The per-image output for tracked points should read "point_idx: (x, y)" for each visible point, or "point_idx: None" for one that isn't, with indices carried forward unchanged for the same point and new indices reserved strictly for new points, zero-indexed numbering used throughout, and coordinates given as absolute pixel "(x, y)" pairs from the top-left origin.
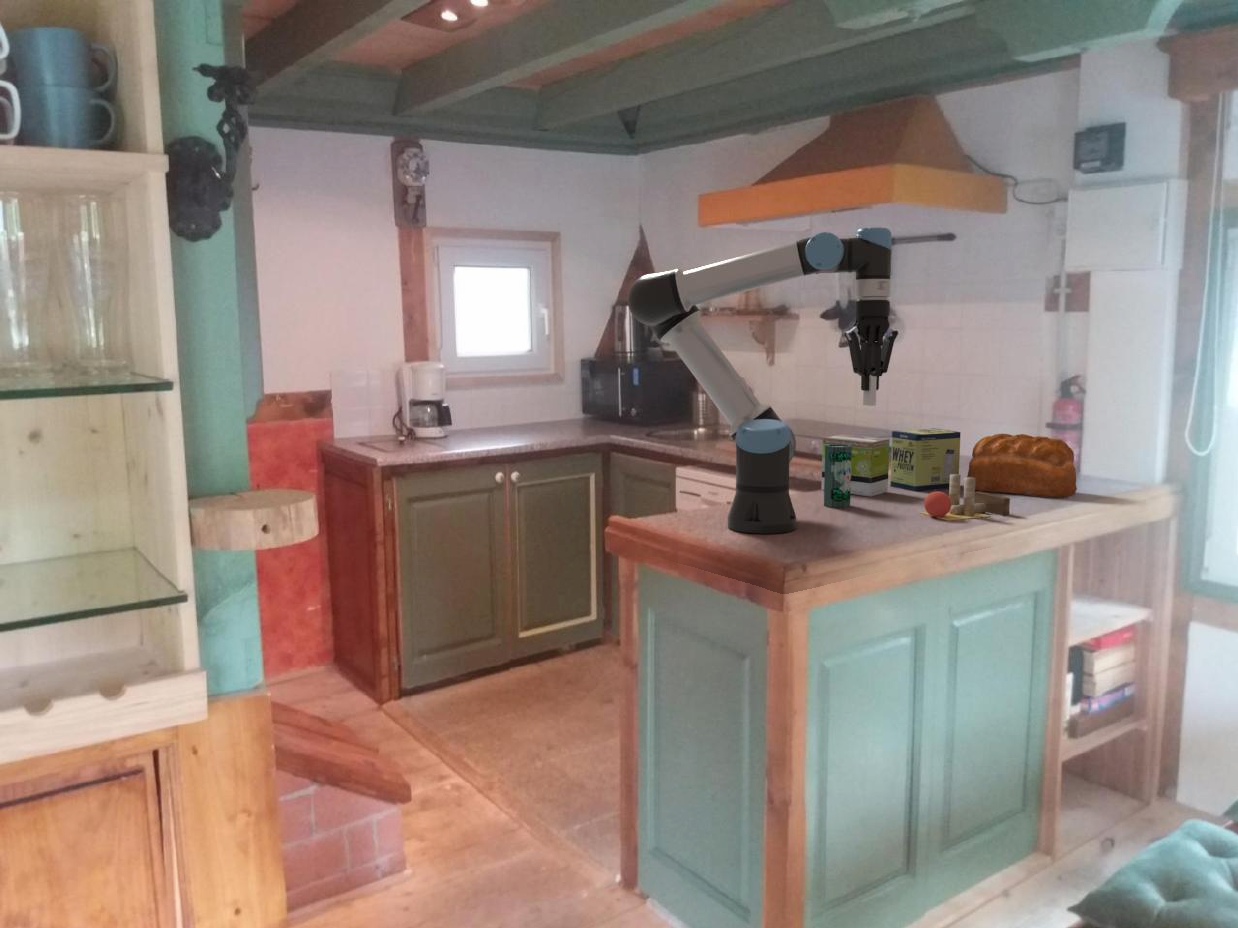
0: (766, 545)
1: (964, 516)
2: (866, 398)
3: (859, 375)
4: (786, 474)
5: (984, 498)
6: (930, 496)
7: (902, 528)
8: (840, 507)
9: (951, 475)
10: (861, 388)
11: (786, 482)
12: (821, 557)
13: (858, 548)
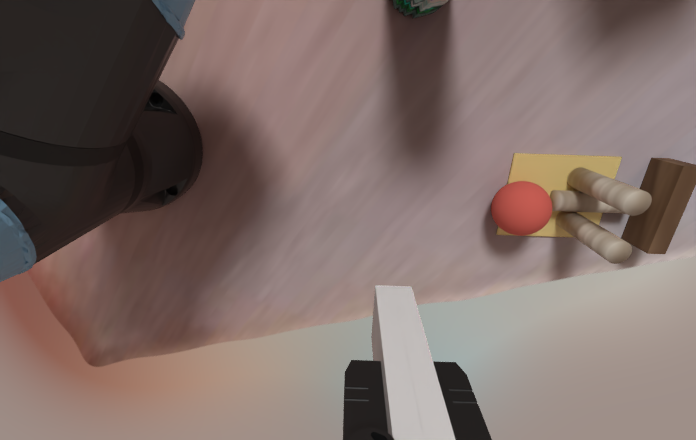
0: (100, 264)
1: (550, 223)
2: (376, 334)
3: (357, 434)
4: (98, 225)
5: (661, 199)
6: (508, 215)
7: (376, 251)
8: (405, 15)
9: (623, 204)
10: (345, 374)
11: (112, 217)
12: (155, 344)
13: (227, 326)
